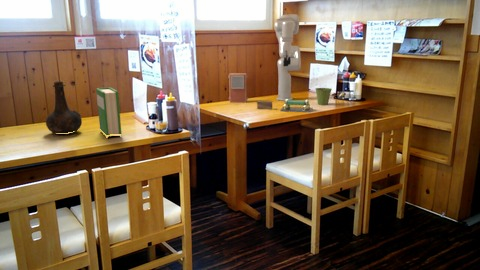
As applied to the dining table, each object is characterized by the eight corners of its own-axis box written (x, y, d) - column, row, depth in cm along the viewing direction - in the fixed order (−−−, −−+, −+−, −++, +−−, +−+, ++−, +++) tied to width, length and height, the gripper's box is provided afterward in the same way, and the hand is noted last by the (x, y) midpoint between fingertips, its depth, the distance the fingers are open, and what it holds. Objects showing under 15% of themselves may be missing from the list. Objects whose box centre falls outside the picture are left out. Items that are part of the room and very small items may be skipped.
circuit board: (285, 102, 288) (285, 100, 288) (309, 103, 284) (309, 100, 283) (283, 104, 282) (283, 101, 281) (307, 105, 277) (308, 102, 277)
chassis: (283, 107, 292) (283, 97, 290) (312, 109, 286) (312, 98, 285) (280, 111, 281) (280, 100, 279) (310, 112, 275) (310, 101, 274)
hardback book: (121, 137, 218) (117, 91, 212) (107, 139, 215) (102, 92, 209) (114, 130, 233) (110, 87, 227) (100, 132, 230) (96, 88, 224)
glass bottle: (83, 135, 223) (77, 82, 216) (46, 138, 217) (39, 84, 210) (82, 128, 239) (77, 79, 233) (48, 131, 233) (41, 80, 227)
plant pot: (329, 106, 296) (330, 90, 293) (313, 105, 300) (313, 89, 298) (332, 103, 307) (333, 88, 304) (316, 102, 311) (317, 87, 308)
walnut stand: (258, 108, 293) (258, 101, 291) (272, 108, 290) (272, 101, 289) (257, 108, 290) (257, 101, 289) (271, 109, 287) (271, 102, 286)
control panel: (229, 101, 322) (248, 101, 321) (227, 102, 316) (247, 102, 314) (228, 73, 317) (248, 73, 316) (227, 74, 311) (247, 74, 309)
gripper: (284, 39, 295) (283, 63, 300) (279, 40, 279) (279, 66, 284) (294, 39, 293) (294, 64, 298) (290, 40, 277) (290, 67, 282)
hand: (287, 65), depth 291 cm, fingers open, 9 cm apart
